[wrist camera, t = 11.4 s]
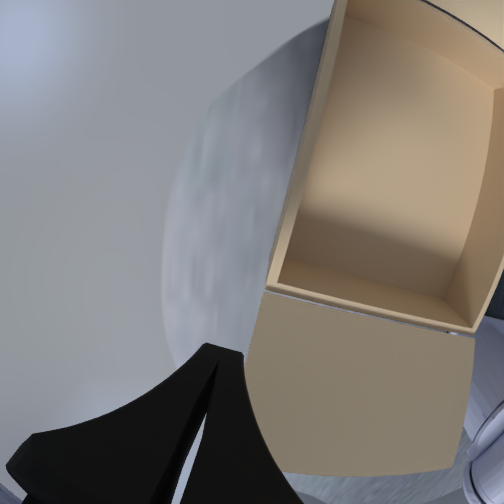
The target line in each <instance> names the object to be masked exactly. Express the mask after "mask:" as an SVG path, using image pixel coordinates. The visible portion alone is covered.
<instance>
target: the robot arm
mask: <svg viewBox="0 0 504 504" xmlns="http://www.w3.org/2000/svg"><path fill="white" fill-rule="evenodd" d="M448 334H454V335H459V336H464V337H470V338H475V349H474V361H473V371H472V379H471V386H470V393H469V399H468V405H467V410H466V415H465V420H464V425H463V426H464V427H465V429H466V431H467V433H468V435H469V437H470V439H471V441H472V443H473V444H472V445H471V446H470V447H469V448H468V449H467V453H468V455H469V458H470V461H469V462H468V463H467V464H466V466H465V469H464V474H463V487H464V492H465V495H466V498H467V500H468V502H469V503H470V504H504V320H501V319H497V318H493V317H489V316H485V315H484V316H483V318H482V320H481V322H480V324H479V326H478V328H477V330H476V332H475V333H474V335H473V336H470V335H464V334H459V333H454V332H448ZM206 413H207V414H206ZM205 415H206V419H205V424H204V430H203V435H202V439H201V442H200V445H199V448H198V452H197V455H196V457H195V460H194V463H193V466H192V470H191V472H190V475H189V478H188V481H187V485H186V487H185V490H184V493H183V496H182V499H181V502H180V504H304V503H303V502H302V500H301V499H300V498H299V497H298V495H297V494H296V493H295V491H294V490H293V488H292V487H291V486H290V484H289V483H288V481H287V480H286V478H285V477H284V475H283V473H282V472H281V470H280V469H279V467H278V465H277V464H276V462H275V460H274V458H273V457H272V455H271V453H270V451H269V449H268V447H267V445H266V443H265V440H264V438H263V436H262V434H261V431H260V429H259V426H258V423H257V421H256V418H255V415H254V412H253V409H252V405H251V402H250V398H249V394H248V389H247V385H246V380H245V373H244V355H243V354H242V352H238V351H234V350H231V349H227V348H223V347H220V346H216V345H213V344H209V343H205V344H203V345H202V346H201V347H200V348H199V349H198V351H197V352H196V353H195V354H194V355H193V356H192V357H191V358H190V359H189V360H188V361H187V362H186V363H185V364H183V365H182V366H181V367H180V368H179V369H178V370H177V371H175V372H174V373H173V374H172V375H171V376H169V377H168V378H167V379H165V380H164V381H163V382H161V383H160V384H159V385H157V386H156V387H154V388H153V389H152V390H150V391H148V392H147V393H145V394H144V395H142V396H141V397H139V398H137V399H135V400H134V401H132V402H130V403H128V404H126V405H124V406H122V407H120V408H118V409H116V410H114V411H112V412H110V413H108V414H105V415H102V416H100V417H98V418H94V419H91V420H88V421H85V422H83V423H79V424H76V425H73V426H70V427H66V428H61V429H56V430H51V431H45V432H40V433H34V434H32V435H31V436H30V437H29V438H28V439H27V440H26V441H24V443H22V445H21V446H20V447H19V448H18V449H17V451H16V452H15V453H14V455H13V456H12V457H11V459H10V460H9V461H8V463H7V464H6V469H7V471H8V473H9V474H10V475H11V477H12V478H13V479H14V480H15V481H16V482H17V483H18V484H19V485H20V487H22V489H23V490H24V491H25V492H26V493H27V496H26V497H25V499H24V501H22V500H21V499H19V498H18V497H17V496H15V495H14V494H13V493H12V492H10V491H9V490H8V489H7V488H6V487H4V486H3V485H2V484H1V483H0V504H171V503H172V499H173V496H174V493H175V490H176V487H177V484H178V480H179V477H180V474H181V471H182V468H183V465H184V463H185V460H186V458H187V456H188V453H189V451H190V449H191V447H192V445H193V442H194V440H195V438H196V435H197V433H198V431H199V429H200V426H201V424H202V422H203V419H204V417H205Z"/></svg>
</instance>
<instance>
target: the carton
mask: <svg viewBox="0 0 504 504" xmlns="http://www.w3.org/2000/svg"><path fill="white" fill-rule="evenodd" d="M503 269H504V53H503V52H502V51H501V50H500V49H498V48H497V47H496V46H494V45H493V44H492V43H490V42H489V41H488V40H486V39H485V38H483V37H482V36H480V35H479V34H478V33H476V32H475V31H473V30H472V29H470V28H469V27H467V26H465V25H464V24H462V23H461V22H459V21H457V20H456V19H454V18H452V17H451V16H449V15H447V14H445V13H444V12H442V11H440V10H438V9H436V8H434V7H433V6H431V5H429V4H427V3H425V2H423V1H421V0H335V1H334V4H333V8H332V11H331V15H330V19H329V24H328V28H327V33H326V37H325V41H324V46H323V50H322V54H321V58H320V63H319V67H318V71H317V75H316V80H315V84H314V88H313V92H312V96H311V100H310V104H309V108H308V112H307V116H306V120H305V124H304V128H303V132H302V136H301V140H300V144H299V148H298V152H297V156H296V160H295V164H294V168H293V171H292V175H291V179H290V183H289V187H288V191H287V194H286V198H285V202H284V206H283V210H282V213H281V217H280V221H279V225H278V228H277V232H276V236H275V239H274V243H273V247H272V250H271V254H270V258H269V264H268V270H267V276H266V283H265V289H266V290H269V291H273V292H277V293H281V294H285V295H289V296H293V297H297V298H301V299H305V300H309V301H313V302H317V303H321V304H326V305H330V306H334V307H338V308H342V309H347V310H351V311H355V312H360V313H364V314H368V315H373V316H377V317H382V318H386V319H391V320H396V321H400V322H405V323H410V324H414V325H419V326H424V327H429V328H434V329H439V330H444V331H449V332H454V333H459V334H464V335H470V336H473V335H474V333H475V332H476V330H477V328H478V326H479V324H480V322H481V320H482V318H483V316H484V314H485V312H486V309H487V307H488V305H489V303H490V301H491V298H492V296H493V294H494V292H495V289H496V287H497V284H498V282H499V279H500V277H501V274H502V272H503Z"/></svg>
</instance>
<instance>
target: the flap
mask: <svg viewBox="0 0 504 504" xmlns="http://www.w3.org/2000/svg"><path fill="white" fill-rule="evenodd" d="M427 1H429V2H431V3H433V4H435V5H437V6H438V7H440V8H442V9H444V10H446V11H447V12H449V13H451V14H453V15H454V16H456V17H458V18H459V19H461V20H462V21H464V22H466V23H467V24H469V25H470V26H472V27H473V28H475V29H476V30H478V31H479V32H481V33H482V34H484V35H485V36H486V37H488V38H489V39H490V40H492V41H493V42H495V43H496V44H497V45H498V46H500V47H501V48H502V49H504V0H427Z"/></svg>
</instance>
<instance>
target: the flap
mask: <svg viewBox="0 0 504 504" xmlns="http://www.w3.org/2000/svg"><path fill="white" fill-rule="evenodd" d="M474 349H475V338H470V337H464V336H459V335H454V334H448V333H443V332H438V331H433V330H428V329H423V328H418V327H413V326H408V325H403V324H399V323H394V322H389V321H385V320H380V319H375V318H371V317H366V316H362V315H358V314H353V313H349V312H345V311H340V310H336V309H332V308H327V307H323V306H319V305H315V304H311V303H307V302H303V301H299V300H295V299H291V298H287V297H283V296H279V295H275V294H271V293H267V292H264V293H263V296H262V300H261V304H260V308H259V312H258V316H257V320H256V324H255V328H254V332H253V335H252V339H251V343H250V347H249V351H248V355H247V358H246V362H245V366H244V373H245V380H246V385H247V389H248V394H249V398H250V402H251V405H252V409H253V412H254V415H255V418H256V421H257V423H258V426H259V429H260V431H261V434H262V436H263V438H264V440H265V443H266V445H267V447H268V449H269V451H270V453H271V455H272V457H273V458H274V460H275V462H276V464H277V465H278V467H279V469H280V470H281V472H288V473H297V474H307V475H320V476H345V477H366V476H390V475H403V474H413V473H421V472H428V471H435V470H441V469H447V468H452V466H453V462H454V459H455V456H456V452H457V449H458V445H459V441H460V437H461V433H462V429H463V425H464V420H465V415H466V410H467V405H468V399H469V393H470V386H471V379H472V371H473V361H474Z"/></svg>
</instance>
